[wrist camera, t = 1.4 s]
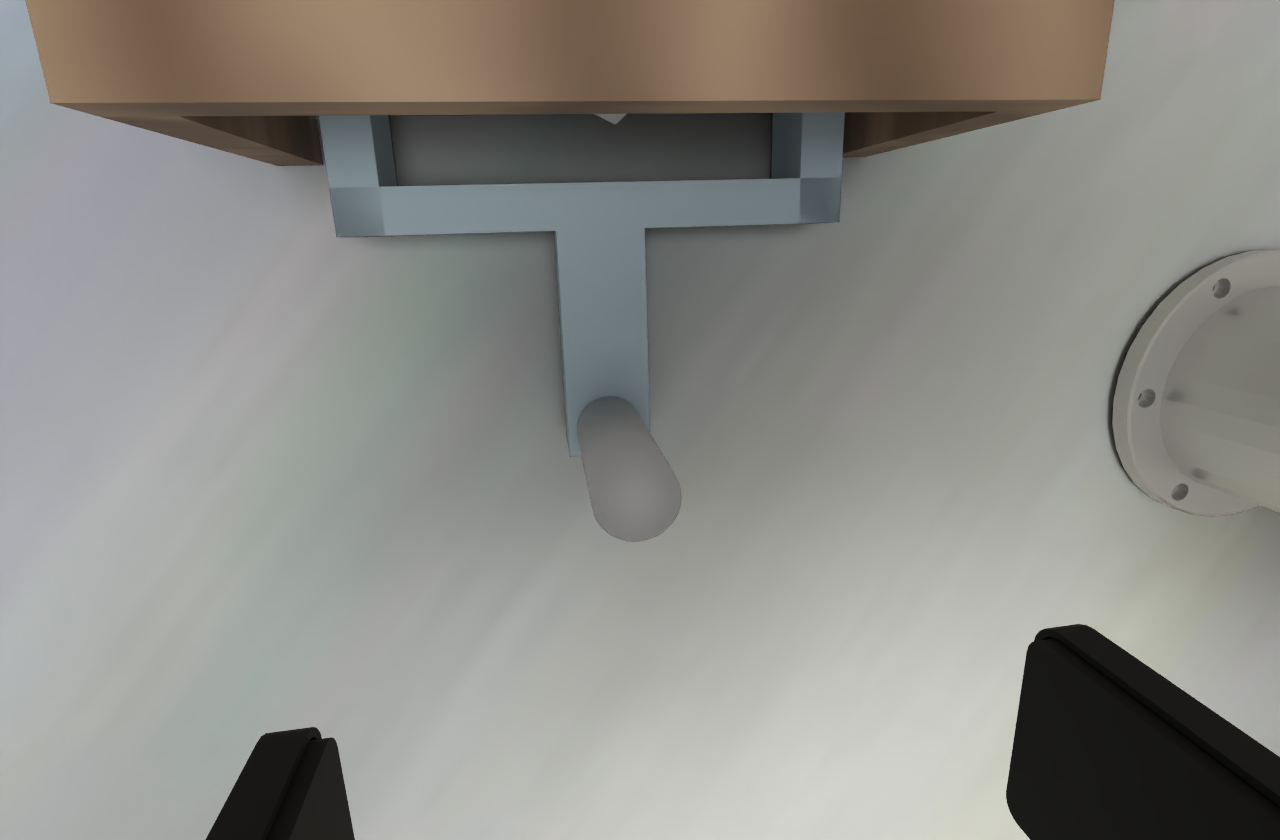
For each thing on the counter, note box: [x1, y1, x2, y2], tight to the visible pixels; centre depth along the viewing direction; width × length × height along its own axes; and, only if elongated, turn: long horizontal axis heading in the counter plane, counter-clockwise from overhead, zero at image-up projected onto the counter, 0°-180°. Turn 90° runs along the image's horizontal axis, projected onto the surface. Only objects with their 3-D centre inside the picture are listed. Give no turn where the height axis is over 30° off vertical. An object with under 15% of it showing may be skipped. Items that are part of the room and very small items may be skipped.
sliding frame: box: [319, 112, 845, 542], centre depth 19 cm, size 24×17×10 cm
